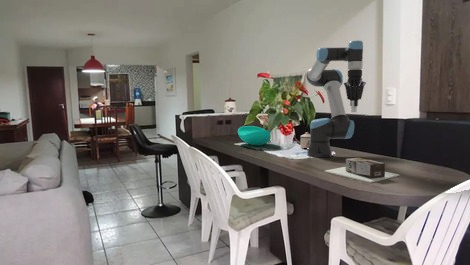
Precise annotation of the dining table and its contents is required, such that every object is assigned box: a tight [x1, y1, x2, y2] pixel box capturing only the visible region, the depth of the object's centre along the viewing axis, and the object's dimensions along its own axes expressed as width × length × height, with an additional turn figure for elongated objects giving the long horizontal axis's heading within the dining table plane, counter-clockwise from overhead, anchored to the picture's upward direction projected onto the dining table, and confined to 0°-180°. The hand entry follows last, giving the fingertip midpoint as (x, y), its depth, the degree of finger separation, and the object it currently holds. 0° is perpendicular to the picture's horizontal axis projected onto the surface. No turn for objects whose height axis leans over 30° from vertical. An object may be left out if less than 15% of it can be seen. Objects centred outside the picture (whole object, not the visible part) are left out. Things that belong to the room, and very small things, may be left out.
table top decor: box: [237, 125, 271, 146], centre depth 256 cm, size 40×28×13 cm
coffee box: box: [345, 157, 386, 179], centre depth 156 cm, size 9×6×16 cm
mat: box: [323, 166, 400, 184], centre depth 159 cm, size 26×22×1 cm
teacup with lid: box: [300, 131, 310, 149], centre depth 238 cm, size 12×9×12 cm
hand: (353, 112), depth 185 cm, fingers closed
